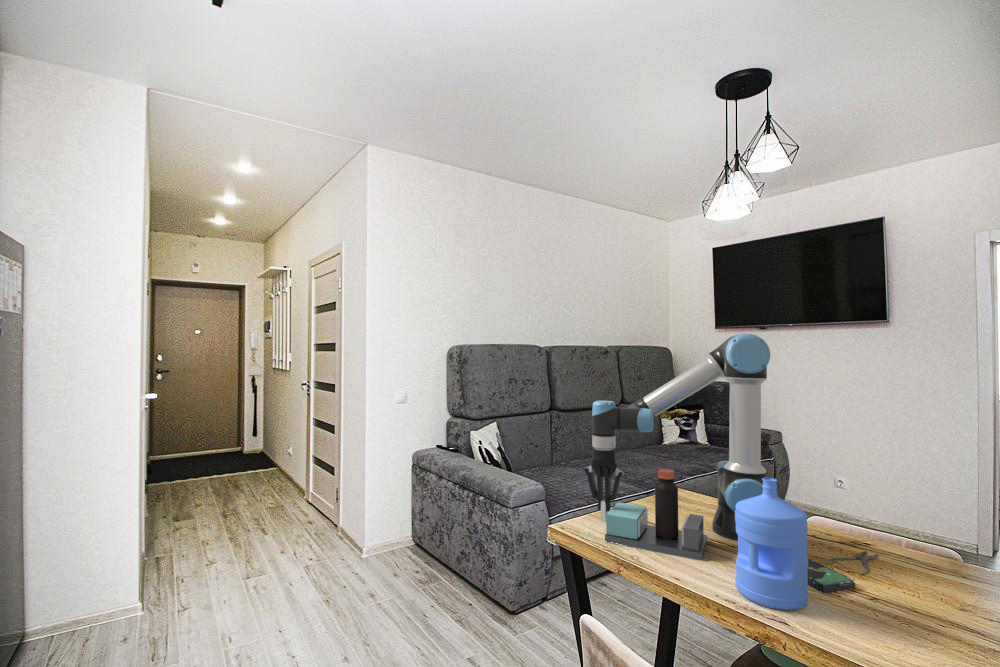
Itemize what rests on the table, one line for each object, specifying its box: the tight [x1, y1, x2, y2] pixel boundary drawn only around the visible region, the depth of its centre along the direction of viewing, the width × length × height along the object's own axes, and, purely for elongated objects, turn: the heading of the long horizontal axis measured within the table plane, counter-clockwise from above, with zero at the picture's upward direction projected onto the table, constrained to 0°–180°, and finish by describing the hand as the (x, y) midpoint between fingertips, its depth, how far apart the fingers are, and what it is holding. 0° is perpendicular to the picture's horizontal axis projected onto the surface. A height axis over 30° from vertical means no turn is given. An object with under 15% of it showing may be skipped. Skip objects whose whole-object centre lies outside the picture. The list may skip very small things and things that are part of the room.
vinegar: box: [654, 468, 679, 539], centre depth 153 cm, size 7×7×20 cm
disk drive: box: [808, 558, 856, 594], centre depth 129 cm, size 10×3×15 cm
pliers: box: [824, 550, 879, 576], centre depth 141 cm, size 10×1×20 cm
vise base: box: [604, 513, 708, 561], centre depth 153 cm, size 28×16×8 cm, turn 62°
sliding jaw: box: [605, 501, 649, 539], centre depth 158 cm, size 10×14×6 cm
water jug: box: [735, 477, 810, 611], centre depth 121 cm, size 16×16×28 cm
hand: (604, 520), depth 161 cm, fingers closed
